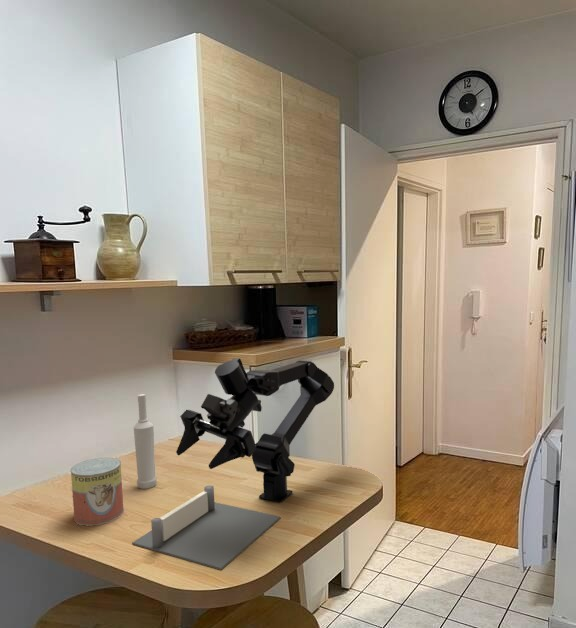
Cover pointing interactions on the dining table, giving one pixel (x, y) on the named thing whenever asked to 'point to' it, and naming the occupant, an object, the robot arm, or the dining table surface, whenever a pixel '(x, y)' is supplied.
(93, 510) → the canned food
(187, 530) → the plate with peg
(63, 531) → the dining table surface
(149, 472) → the bottle
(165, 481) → the dining table surface
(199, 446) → the dining table surface
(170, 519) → the gate
